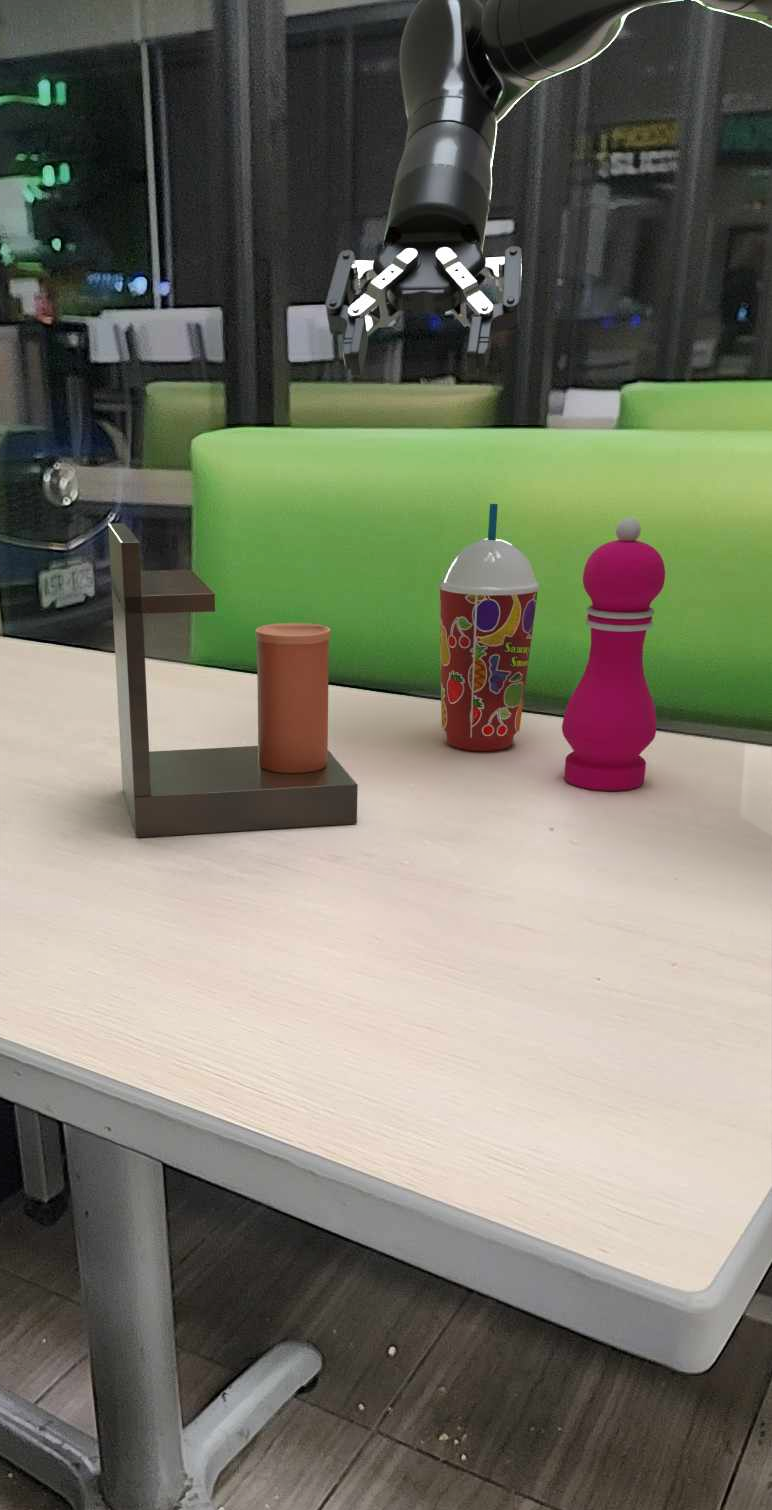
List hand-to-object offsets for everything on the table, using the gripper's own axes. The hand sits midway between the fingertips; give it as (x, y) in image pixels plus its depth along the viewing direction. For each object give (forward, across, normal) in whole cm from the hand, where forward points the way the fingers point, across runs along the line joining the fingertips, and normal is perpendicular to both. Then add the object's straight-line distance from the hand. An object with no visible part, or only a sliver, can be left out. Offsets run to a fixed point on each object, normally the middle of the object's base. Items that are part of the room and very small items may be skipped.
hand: (413, 367), depth 96 cm
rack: (+30, -11, +13) cm, 34 cm away
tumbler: (+26, -7, +12) cm, 30 cm away
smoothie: (+14, +5, +29) cm, 33 cm away
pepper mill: (+20, +16, +22) cm, 34 cm away
